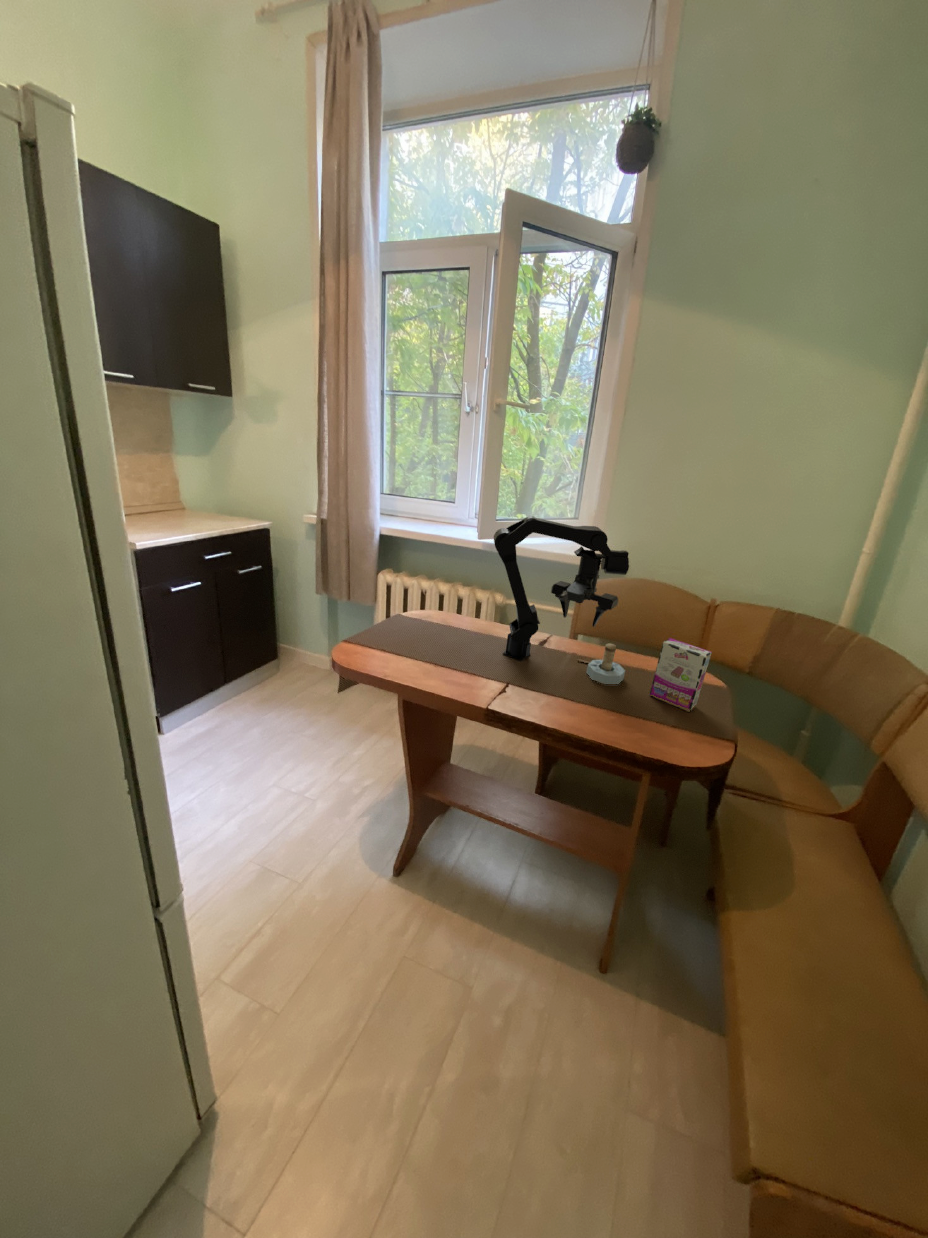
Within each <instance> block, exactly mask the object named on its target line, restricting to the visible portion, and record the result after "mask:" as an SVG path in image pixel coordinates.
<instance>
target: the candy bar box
mask: <svg viewBox="0 0 928 1238" xmlns="http://www.w3.org/2000/svg"><path fill="white" fill-rule="evenodd" d="M712 653H713V652H712V651H710V650H707V649H704V648H701V647H698V646H695V645H692V644H690V643H686V642H685V641H684V642H683V641H680V640H677V639H675V638H672V637H669V638H667V639H666V640H664V641H663V642H662V644H661V648H660V652H659V656H658V660H657V664H656V668H655V672H654V675H653V681H652V684H651V688H650V691H649V696H650V695H654V696H656V697H658V698H662V699H664V700H667V701H669V702H672V703H674V704H676V705H680V706H682V707H685V708H688V709H690V710H691V709H692V708H693V707H694V706H695V705H696V706H697V705H698V704H697V703H698V701H699V698H700V693H701V690H702V687H703V684H704V680H705V676H706V674H707V670H708V668H709V667H708V666H709V664H710V661H711V658H712ZM691 711H692V710H691Z"/></svg>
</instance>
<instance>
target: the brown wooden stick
mask: <svg viewBox="0 0 928 1238" xmlns="http://www.w3.org/2000/svg"><path fill="white" fill-rule="evenodd" d="M578 661H579V662H578ZM577 662H578V663H581V662H584V663H583V664H585V663H588V664H589V663H590V662H591V661H587V660H584V659H580V658H578V659H577ZM588 664H587V665H588Z"/></svg>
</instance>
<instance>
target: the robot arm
mask: <svg viewBox="0 0 928 1238" xmlns="http://www.w3.org/2000/svg"><path fill="white" fill-rule="evenodd" d="M531 534H538V535H542V536H546V537H550V538H557V539H561V540H564V541H571V542H573V543H575V544H577V545H580V547H579V548H577V549H576V550H574V554H575V556H576V557H579V558H580V559H579V565H578V566H579V567H578V571H577V574H576V575H575V578H574V581H573V582H572V583H569V582H567V581H563V580H559V581H558V582H556V583H554V584H552V586H551V590H550V593H551V594H553V595H554V597H555V598H557V599H558V600H559V602H560V605H561V611H562V616H563V618H567V617H568V616H567V615H568V612H569V608H570V602H575V603H577V604H583V603H584V602H585V601H594V602H597V606H596V607H595V614H594V616H593V617H594V618H593V621H592V627H595V626H596V625H597V623H598V622H599V620H600V619H601V618H602V615H603V614H604V613H605V612H607V611H612V610H613V609H614V608H615V607H617V606H618V603H619V598H618V596H617V595H614V594H610V593H606V592H605V593H603V594H602V595H599V594H596V593H597V590H598V589H597V584H598V580H599V579H600V574H599V573H600V569H601V570H603V573H604V574H608V575H610V574H611V575H619V576H620V575H621V576H622V575H623V576H625V575H626V574H628V572H629V567H630V565H629V563H630V560H629V551H627V550H623V549H622V550H615V549H614V550H613V549H611V548H610V547H609V545H608V541H609V540H608V536H607V534H606V533H605V532H604V531H603V530H602V529H601V528H600V527H598V526H594V525H575V526H574V525H569V524H565V523H560V522H557V521H556V522H555V521H553V520H552V521H551V520H547V519H544V518H539V517H535V516H533V515H527V516H526V517H524V518H523V519H521V520H519V521H517V522H515V523H513V524H510V526H508V527H505V528H504V527H503V528H500V529H497V530H496V531H495V533H494V535H493V543H494V547H495V549H496V550H495V551H496V552H497V554H498V555H499V558H500V560H501V561H502V563H503V566H504V568H505V571H506V575H507V578H508V582H509V584H510V588H511V593H512V596H513V600H514V603H515V613H516V618H515V619H514V620H512V622H510V623H509V624H508V625H509V629H510V630H509V631H510V632H509V633H508V634H507V639H506V645H505V646H506V647H505V650H504V651H503V652H502V655H504V656H507V657H510V658H512V659H515V660H518V661H523V660H524V659H526V658H527V657H528V656H530V655H531V652H530V651H531V647H532V643H531V638H532V636H534V635H535V634H536V633H537V632H538V631H539V625H541V622H540V619H539V616H538V612H537V608H536V605H535V604H532V605H530V603H529V600H528V598H527V594H526V591H525V590H526V589H525V587H524V583H523V580H522V576H521V572H520V569H519V565H518V561H517V560H518V559H517V546H516V545H518V544H520V543H521V542H523V540H525V539H526V538H527V537H528V536H531ZM584 548H585V549H584ZM597 552H599V553H597ZM626 576H627V575H626Z"/></svg>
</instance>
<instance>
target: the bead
mask: <svg viewBox="0 0 928 1238" xmlns="http://www.w3.org/2000/svg"><path fill="white" fill-rule="evenodd" d="M602 661H603V659H592V660H591V661H589V662H590V663H589V664H587V667H586V672H585V674H586V673H587V674H588V675H589V676H590V677H589V676H588V675H587V674H586V675H587V676H588V677H589V679H590V678H591V679H592V680H596V681H599V682H601V683H604V684H619V683H620V682H621V681H622V682H623V680H624V678H625V672H626V670H625V669H624V668H623V667H622V666H621V665H620V663H617V662H614V661H613V663H612V668H611V671H605V670H602V669H601V666H602ZM591 679H590V680H591ZM592 680H591V681H592ZM620 684H621V683H620ZM620 684H619V685H620Z"/></svg>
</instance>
